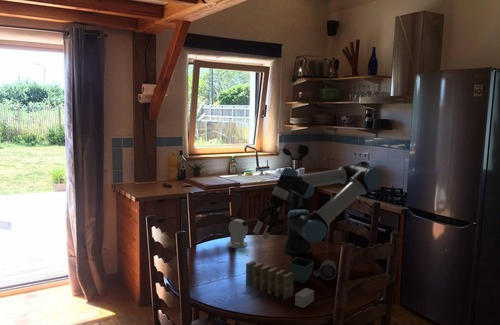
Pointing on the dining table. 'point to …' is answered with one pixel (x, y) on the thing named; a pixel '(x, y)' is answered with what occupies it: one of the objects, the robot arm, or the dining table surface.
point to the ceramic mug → (326, 270)
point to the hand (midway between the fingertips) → (259, 235)
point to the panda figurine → (238, 232)
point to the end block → (304, 297)
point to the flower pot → (301, 269)
